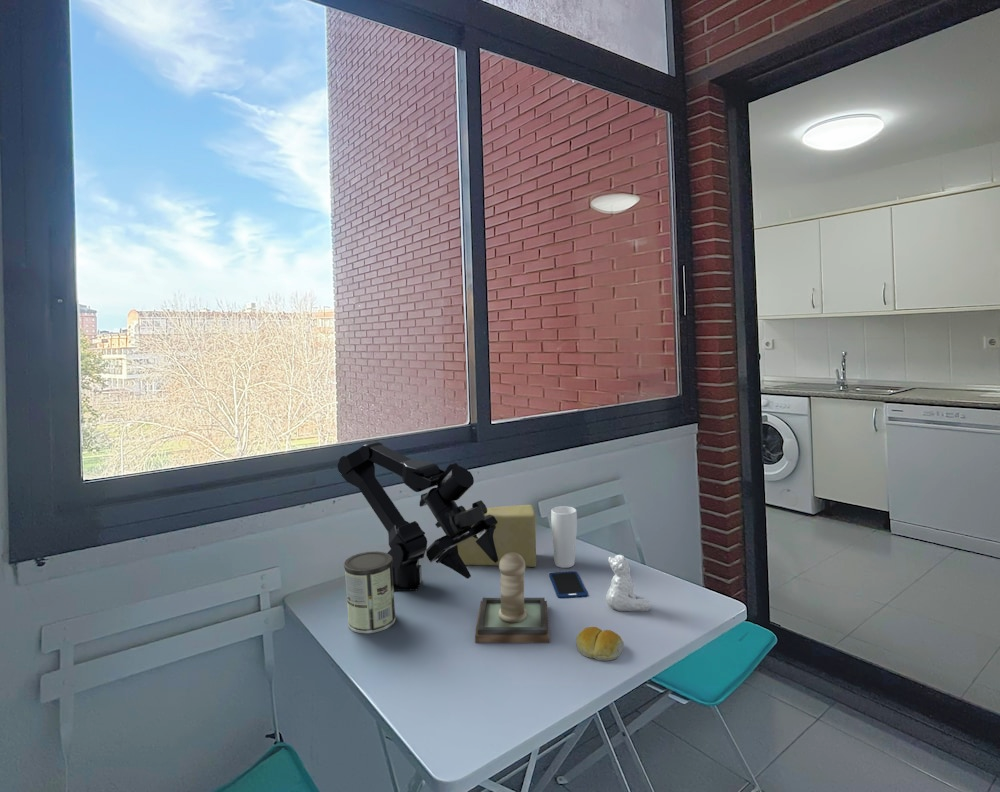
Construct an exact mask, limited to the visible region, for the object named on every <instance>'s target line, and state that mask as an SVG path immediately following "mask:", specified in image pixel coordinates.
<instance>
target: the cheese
mask: <svg viewBox="0 0 1000 792" xmlns="http://www.w3.org/2000/svg"><path fill="white" fill-rule="evenodd" d="M486 508H487V513H486V514H484V516H487V515H492V516H494V517H495V519H496V520H497V522H498V523H497V524H496V525H495V526H496V529H495V530H494V533H493V539H494V545H495V549H496V552H497V556H498V562H496V563H495V562H494V561H492V560H491V559H490V558H489V556H488V555H487V554H486V553H485V552H484V551H483V550H482V549H481V547H480V546H479V545H478V544H477V543H476V542H475V541H476V540H478V539H477V538H474V537H473V536H472V537H470V538H468V539H466V540H464V541H462V542H460V543H458V544H456V545H457V546H458V554H459V556H460V557H461V559H462V561H463V562H464V564H465V566H498V567H499V562H500V560H501V558H502V557H503V556H504V555H505V554H507V553H510V552H515V553H518V554H519V555H521V556H522V557H523V559H524V561H525V568H527V567H528V568H535V567H536V565H537V544H536V543H537V539H536V537H537V535H536V512H535V509H534V506H533V505H532V504H520V505H518V504H517V505H503V506H495V507H494V506H493V507H486ZM465 509H466V510H468V509H469V508H465ZM471 527H472V526H471ZM465 536H466V535H465ZM458 539H460V538H458ZM456 545H454V546H456ZM454 546H453V547H454Z"/></svg>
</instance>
